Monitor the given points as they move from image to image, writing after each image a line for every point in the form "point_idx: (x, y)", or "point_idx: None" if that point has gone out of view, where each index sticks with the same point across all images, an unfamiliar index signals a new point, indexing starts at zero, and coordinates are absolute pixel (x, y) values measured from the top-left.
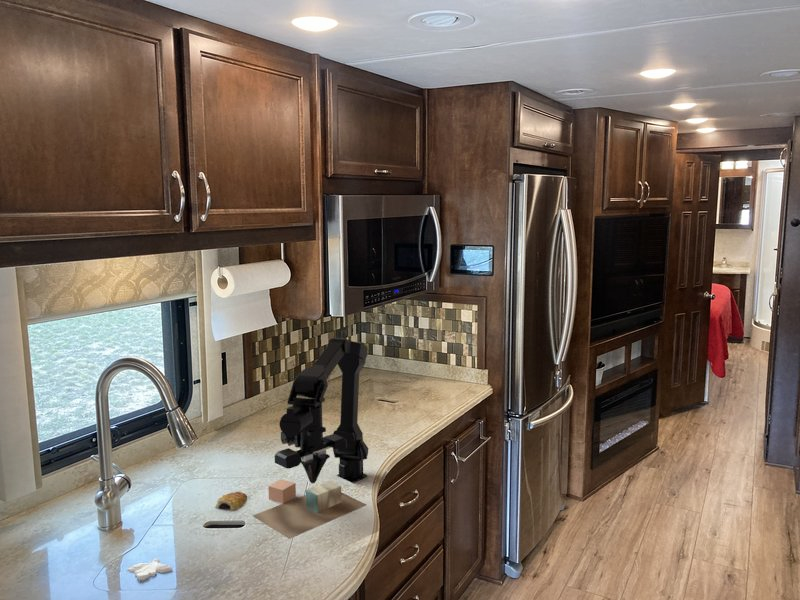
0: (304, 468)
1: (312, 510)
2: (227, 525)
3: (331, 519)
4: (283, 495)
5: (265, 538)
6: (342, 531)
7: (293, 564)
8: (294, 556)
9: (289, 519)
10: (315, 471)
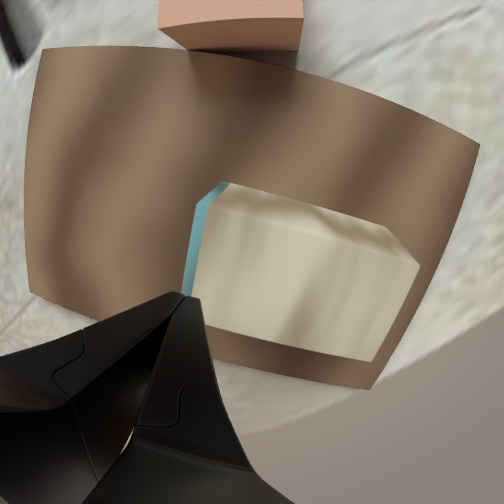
0: (53, 342)
1: None
2: (8, 30)
3: None
4: (176, 37)
5: (11, 198)
6: None
7: (17, 342)
8: (27, 329)
9: (89, 202)
10: (122, 442)
